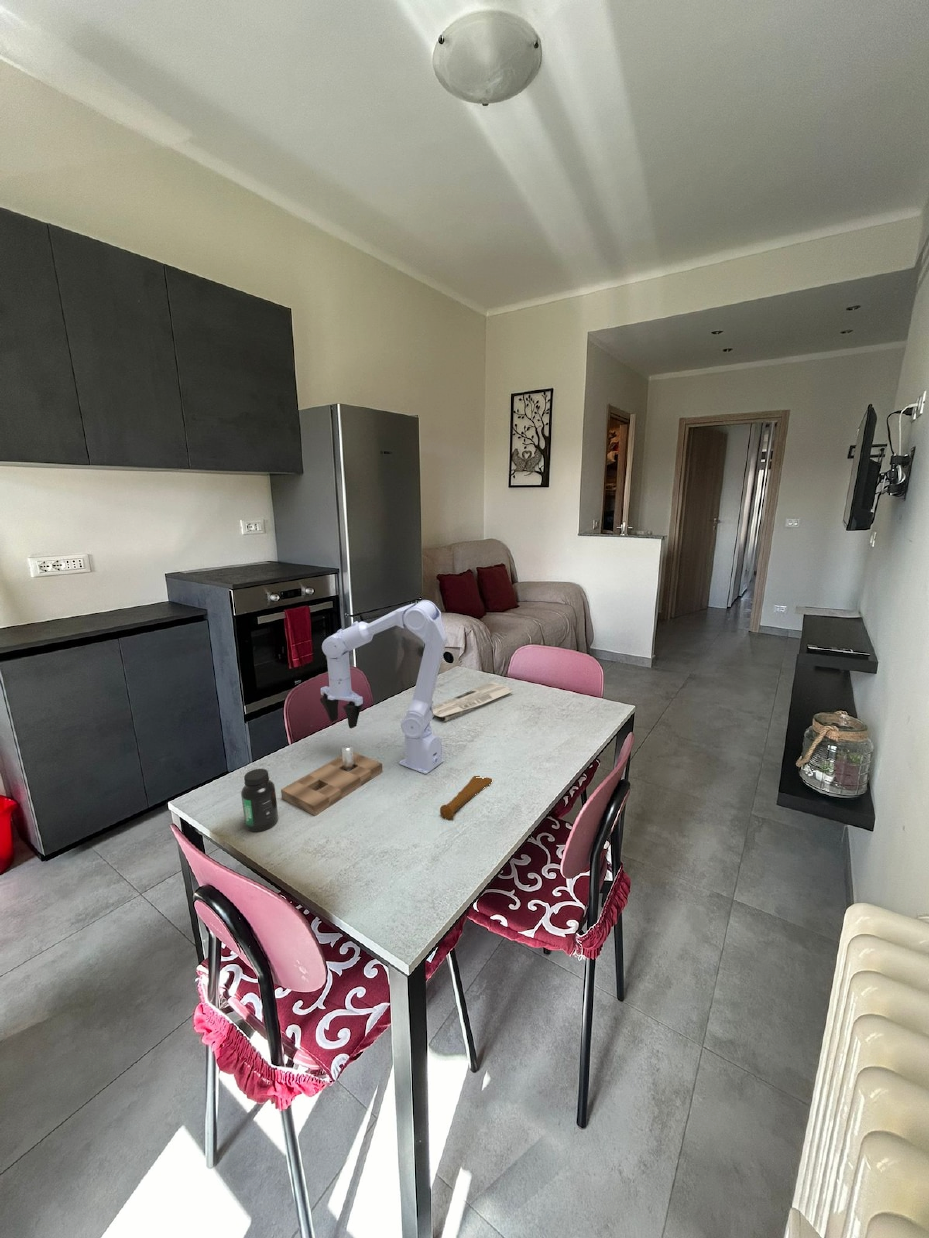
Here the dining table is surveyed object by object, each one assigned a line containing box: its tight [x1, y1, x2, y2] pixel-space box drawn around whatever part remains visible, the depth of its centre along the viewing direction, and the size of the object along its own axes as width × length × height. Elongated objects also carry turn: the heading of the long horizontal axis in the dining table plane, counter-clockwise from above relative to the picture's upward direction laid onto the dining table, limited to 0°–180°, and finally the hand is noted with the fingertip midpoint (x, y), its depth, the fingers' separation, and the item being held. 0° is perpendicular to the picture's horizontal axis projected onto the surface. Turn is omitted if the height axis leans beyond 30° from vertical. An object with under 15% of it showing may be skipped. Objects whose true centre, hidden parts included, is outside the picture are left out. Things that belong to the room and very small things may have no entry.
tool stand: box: [280, 751, 384, 817], centre depth 123 cm, size 12×22×2 cm, turn 146°
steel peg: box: [341, 744, 354, 772], centre depth 127 cm, size 3×3×8 cm
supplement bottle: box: [240, 768, 279, 833], centre depth 108 cm, size 7×7×12 cm
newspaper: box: [432, 682, 513, 722], centre depth 171 cm, size 35×12×4 cm, turn 137°
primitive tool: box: [439, 775, 492, 820], centre depth 117 cm, size 19×6×4 cm, turn 153°
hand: (343, 723), depth 136 cm, fingers open, 7 cm apart
